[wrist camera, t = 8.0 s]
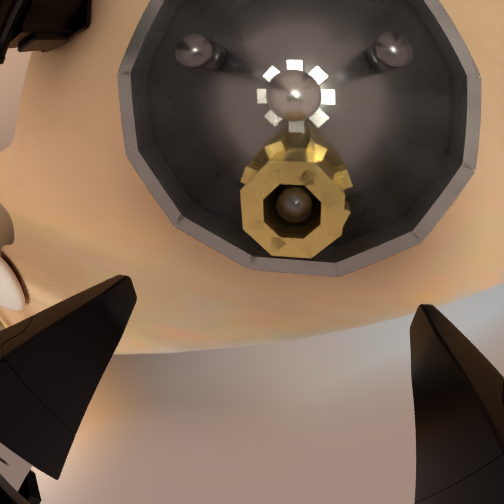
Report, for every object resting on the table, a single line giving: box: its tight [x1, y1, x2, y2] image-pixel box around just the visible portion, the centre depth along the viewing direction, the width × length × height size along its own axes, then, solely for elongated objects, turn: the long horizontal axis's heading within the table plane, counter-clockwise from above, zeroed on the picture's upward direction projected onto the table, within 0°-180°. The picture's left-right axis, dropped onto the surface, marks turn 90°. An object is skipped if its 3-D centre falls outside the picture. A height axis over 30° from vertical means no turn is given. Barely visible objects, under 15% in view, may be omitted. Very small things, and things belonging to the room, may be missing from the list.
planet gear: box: [240, 137, 353, 258], centre depth 15 cm, size 6×6×4 cm
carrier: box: [118, 0, 481, 277], centre depth 13 cm, size 21×21×4 cm
